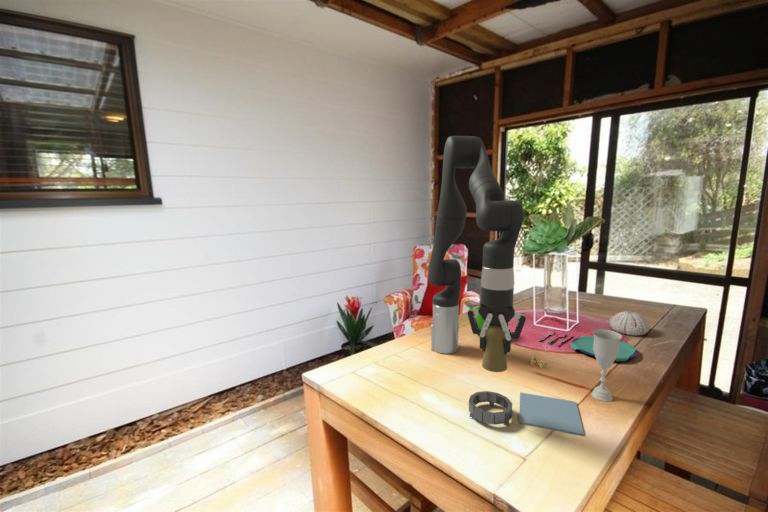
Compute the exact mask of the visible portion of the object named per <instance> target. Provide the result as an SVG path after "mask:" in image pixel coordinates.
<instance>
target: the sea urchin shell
mask: <svg viewBox="0 0 768 512" xmlns="http://www.w3.org/2000/svg"><path fill="white" fill-rule="evenodd" d="M609 325H610V328H611V329H613V331H615V332H617V333H620V334H623V335H627V336H637V337H638V336H643V335H645V334H648V332H649V331H650V325H649V323H648V320H646V318H645V317H644V316H642V314H640V313H638V312H634V311H630V310H629V311H627V310H625V311H620V312H618V313H616V314H615V315H613V316H611V317H610V318H609Z"/></svg>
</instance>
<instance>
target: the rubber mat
mask: <svg viewBox="0 0 768 512" xmlns="http://www.w3.org/2000/svg"><path fill="white" fill-rule="evenodd" d="M518 417H519V421H518V422H519V424H523V425H526V426H532V427H538V428H542V427H543V429H547V428H549V429H548V430H552V429H554V430H553V431H557V430H560V431H559V432H562V431H564V432H563V433H567V432H568V434H572V435H573V434H574V435H578V436H583V437H584V436H585V433H584V429H583V425H582V420H581V416H580V412H579V408H578V404H577V401H574V400H567V399H561V398H555V397H550V396H544V395H538V394H532V393H526V392H519V416H518Z"/></svg>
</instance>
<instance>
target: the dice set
mask: <svg viewBox="0 0 768 512" xmlns="http://www.w3.org/2000/svg"><path fill="white" fill-rule="evenodd" d="M537 358H538V357H537V356H536V355H532V356H531V358H530V362H529V364H530V365H535V364H536V362H537V365H538V366H539V369H540V368H541V369H544V368H545V364H547V362H546V360H541V359H538V360H537Z"/></svg>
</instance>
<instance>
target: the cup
mask: <svg viewBox="0 0 768 512" xmlns="http://www.w3.org/2000/svg"><path fill="white" fill-rule="evenodd" d="M479 307H480V305H478V306H474V307H473V308H472V309H478V308H479ZM476 320H477V324H478V328H480V329H482V327H483V325H484V322H485V321H484V319H483V318H482V317H481V315H480V314H479V313H478V315H477V318H476ZM477 337H479V338H480V336H479V335H477ZM486 338H487V336H486Z"/></svg>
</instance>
